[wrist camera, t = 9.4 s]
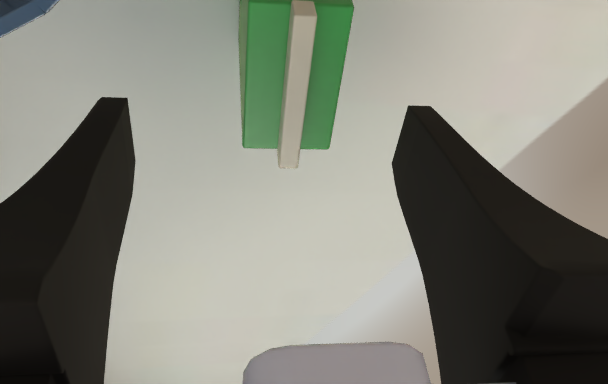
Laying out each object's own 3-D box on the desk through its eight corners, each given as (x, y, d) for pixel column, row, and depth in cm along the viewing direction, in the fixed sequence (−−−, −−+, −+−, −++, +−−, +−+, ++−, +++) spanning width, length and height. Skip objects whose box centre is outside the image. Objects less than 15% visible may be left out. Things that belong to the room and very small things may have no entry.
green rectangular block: (238, 42, 23) (242, 168, 18) (242, -96, 19) (249, 12, 14) (309, 45, 23) (334, 169, 18) (326, -90, 20) (363, 17, 15)
